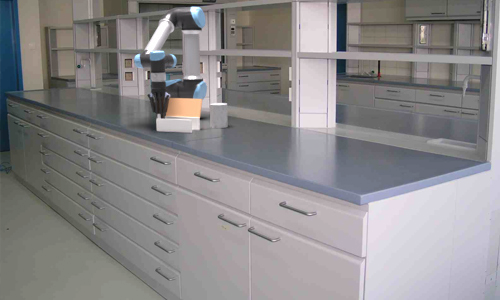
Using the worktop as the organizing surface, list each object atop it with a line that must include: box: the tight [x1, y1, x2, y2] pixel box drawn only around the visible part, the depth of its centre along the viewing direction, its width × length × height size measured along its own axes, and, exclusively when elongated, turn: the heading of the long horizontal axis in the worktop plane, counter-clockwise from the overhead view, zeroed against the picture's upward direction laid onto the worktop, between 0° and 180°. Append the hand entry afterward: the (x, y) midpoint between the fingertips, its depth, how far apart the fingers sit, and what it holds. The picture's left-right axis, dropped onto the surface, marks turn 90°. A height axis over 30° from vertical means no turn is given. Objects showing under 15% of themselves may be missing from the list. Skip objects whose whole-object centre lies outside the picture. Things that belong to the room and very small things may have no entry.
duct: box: [155, 116, 201, 134], centre depth 285 cm, size 10×20×6 cm, turn 69°
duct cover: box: [166, 98, 204, 118], centre depth 290 cm, size 10×20×1 cm
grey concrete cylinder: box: [209, 102, 229, 129], centre depth 295 cm, size 10×10×12 cm
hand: (160, 125), depth 289 cm, fingers closed
